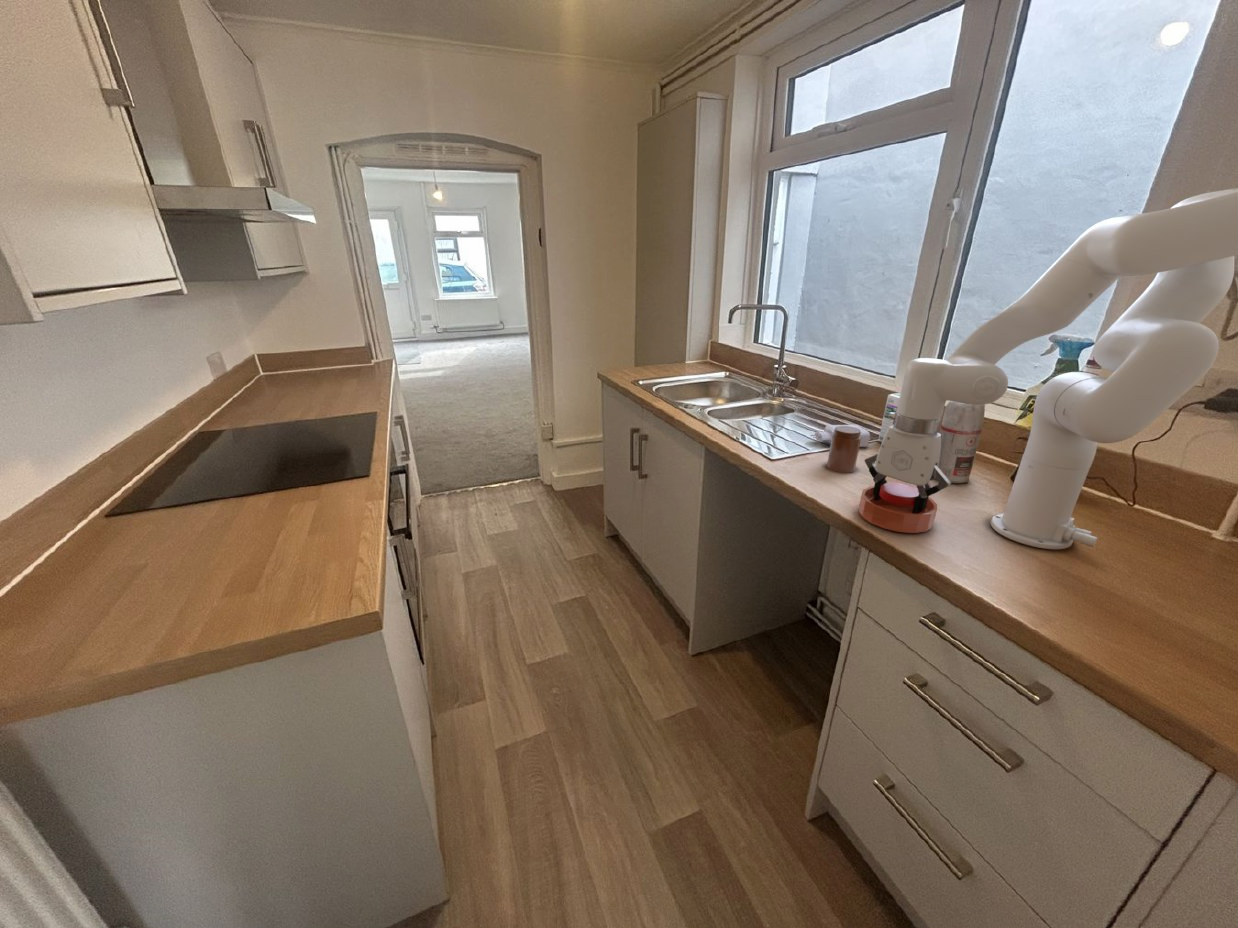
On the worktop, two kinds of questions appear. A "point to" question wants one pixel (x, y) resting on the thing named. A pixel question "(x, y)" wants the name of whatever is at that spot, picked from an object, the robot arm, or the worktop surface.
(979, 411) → the spray can
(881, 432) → the syrup box
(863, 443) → the charger
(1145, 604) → the worktop surface
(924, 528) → the dish
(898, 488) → the lid
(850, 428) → the jar
